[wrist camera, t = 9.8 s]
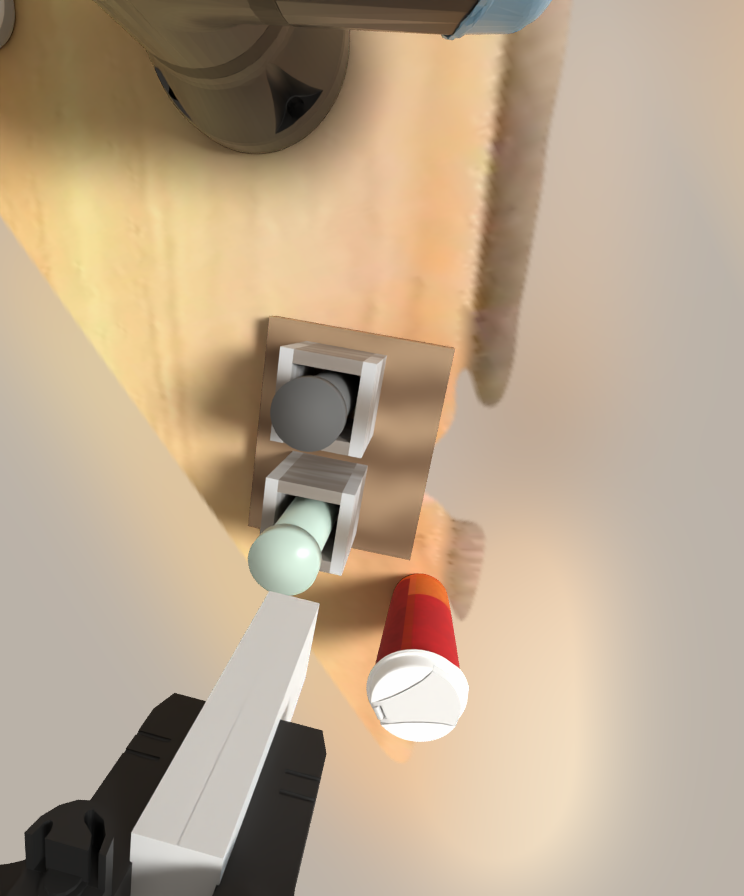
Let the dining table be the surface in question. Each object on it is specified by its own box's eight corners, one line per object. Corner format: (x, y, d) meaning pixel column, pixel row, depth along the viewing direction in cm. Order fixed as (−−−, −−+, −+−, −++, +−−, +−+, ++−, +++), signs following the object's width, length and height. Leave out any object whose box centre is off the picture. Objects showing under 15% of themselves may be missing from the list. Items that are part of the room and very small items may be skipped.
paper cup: (398, 637, 50) (385, 755, 37) (371, 575, 48) (348, 675, 35) (469, 619, 48) (484, 735, 35) (445, 554, 47) (450, 650, 33)
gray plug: (315, 356, 40) (274, 371, 30) (371, 366, 40) (349, 385, 29) (308, 411, 42) (266, 444, 31) (362, 421, 41) (338, 458, 31)
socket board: (276, 316, 42) (234, 316, 33) (453, 347, 41) (460, 356, 32) (255, 517, 48) (214, 564, 39) (410, 550, 47) (405, 606, 38)
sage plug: (297, 471, 42) (251, 524, 31) (350, 481, 42) (322, 539, 31) (291, 520, 43) (244, 587, 33) (342, 530, 43) (312, 602, 32)
